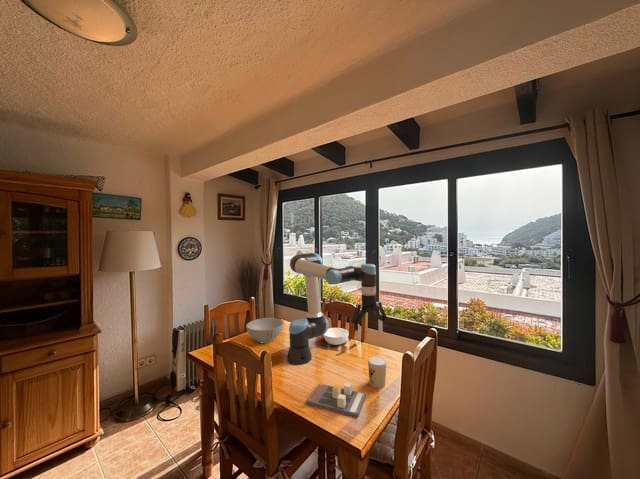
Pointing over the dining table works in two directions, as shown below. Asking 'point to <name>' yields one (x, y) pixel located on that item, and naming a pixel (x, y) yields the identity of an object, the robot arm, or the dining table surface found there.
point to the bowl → (336, 336)
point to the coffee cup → (377, 372)
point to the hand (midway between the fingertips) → (369, 334)
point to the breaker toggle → (336, 391)
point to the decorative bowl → (264, 329)
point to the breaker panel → (344, 403)
